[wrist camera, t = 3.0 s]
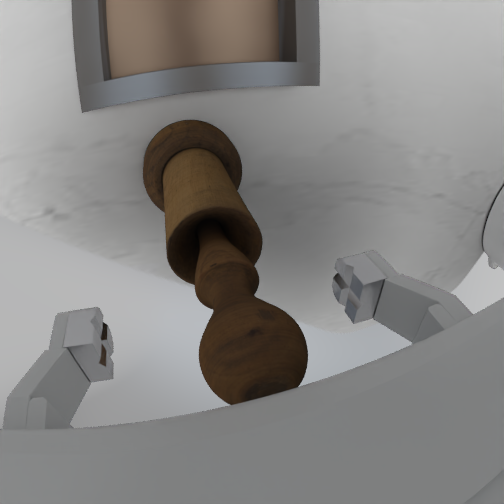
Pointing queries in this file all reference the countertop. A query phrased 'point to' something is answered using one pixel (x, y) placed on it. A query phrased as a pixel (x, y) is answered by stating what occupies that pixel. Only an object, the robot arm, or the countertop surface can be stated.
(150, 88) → the tray
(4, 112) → the countertop surface
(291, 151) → the countertop surface
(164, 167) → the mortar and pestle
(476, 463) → the robot arm
